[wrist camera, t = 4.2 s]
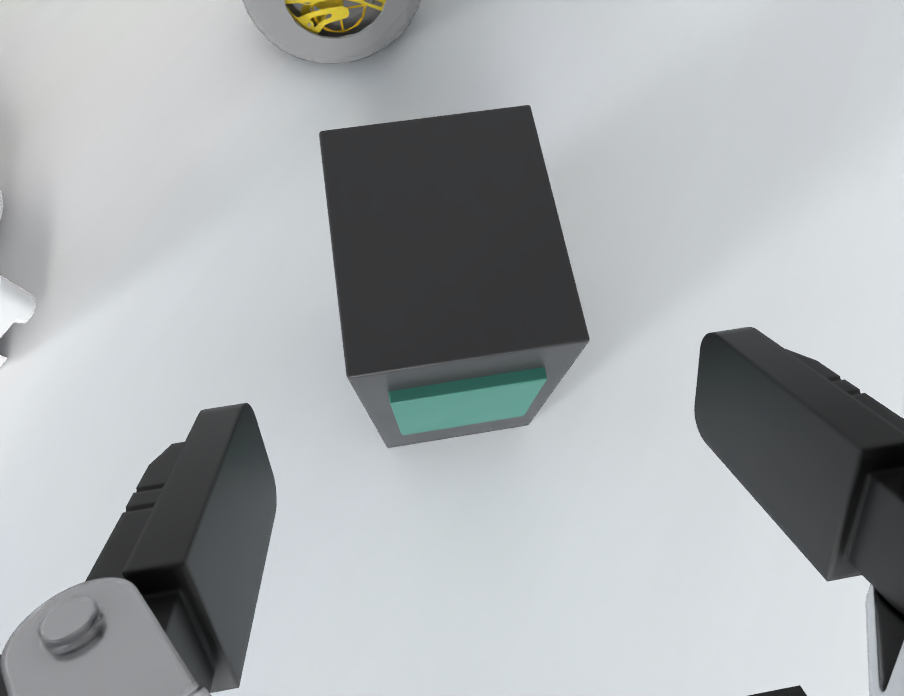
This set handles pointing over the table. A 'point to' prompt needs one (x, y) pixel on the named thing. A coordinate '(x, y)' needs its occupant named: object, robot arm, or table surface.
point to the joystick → (13, 302)
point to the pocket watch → (331, 26)
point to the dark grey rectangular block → (449, 272)
